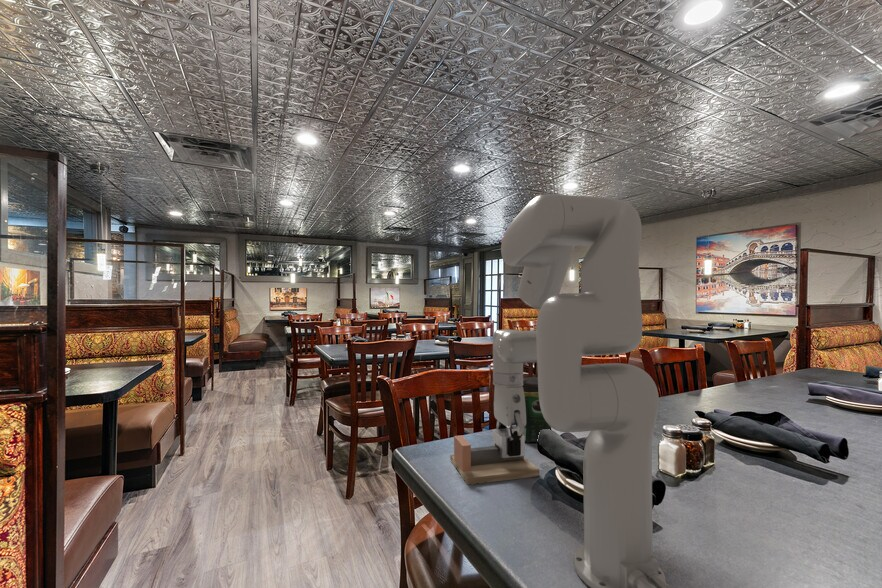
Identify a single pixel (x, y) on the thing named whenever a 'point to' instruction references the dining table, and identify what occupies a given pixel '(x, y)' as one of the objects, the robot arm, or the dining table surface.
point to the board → (498, 471)
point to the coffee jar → (533, 410)
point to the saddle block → (506, 441)
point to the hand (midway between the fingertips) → (508, 449)
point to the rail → (489, 456)
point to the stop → (462, 453)
